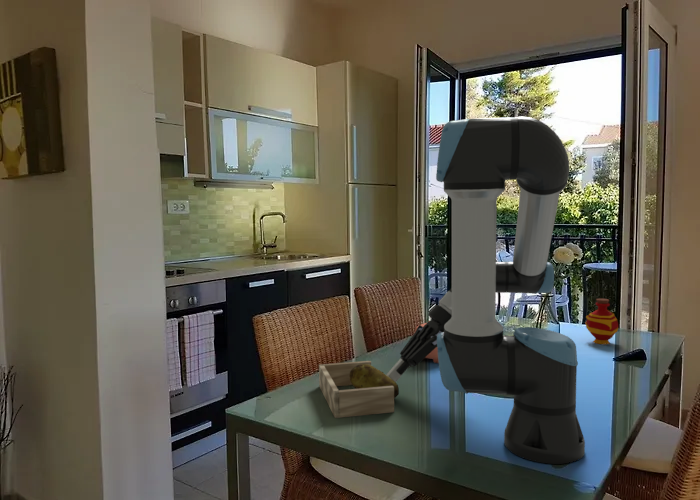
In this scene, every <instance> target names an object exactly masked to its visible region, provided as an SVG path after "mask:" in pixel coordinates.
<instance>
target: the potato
mask: <svg viewBox="0 0 700 500" xmlns="http://www.w3.org/2000/svg"><path fill="white" fill-rule="evenodd" d="M349 377H350V382H351V383H352V385H351V386H353V387H354V389H360V388H371V387H382V386H393V387H394V399H396V398H397V397H398V396H399V394H400V390H399V385H398V384H397V381H396V382H395V381H393V380H392V379H391V378H390V377H388V376H387V375H386V374H385V373H384V372H383V371H381V370H379V369H378V368H376V367H374V365H372V364H371V365H368V364H360V365H357V366H355V367H354V368H352V369H351V371H350V374H349Z"/></svg>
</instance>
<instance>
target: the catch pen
mask: <svg viewBox="0 0 700 500" xmlns="http://www.w3.org/2000/svg"><path fill="white" fill-rule="evenodd" d="M360 364H368V365H371V366H372V361H371V360H363V361H361V360H360V361H359V360H358V361H350V362H336V363H334V362H333V363H322V364H318V380H319V381H318V383H319V386H318V387H319V389H320V391H321V393H322V394H323V397H324V399H325V401H326V402H327V405H328V407H329V408H330V411H331V413H332V415H333V417H334V419H339V418H349V417H359V416H369V415H370V416H371V415H378V414H388V413H395V398H394V387H393V386H382V387H371V388H360V389H355V388H353V389H352V388H351V389H350V388H349V389H340V390H339V388H338V387H343V386H344V387H347V386H353V385H352V383H351V382H350V377H349V374H350V371H351V369H352V368H354V367H355V366H357V365H360Z"/></svg>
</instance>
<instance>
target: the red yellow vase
mask: <svg viewBox="0 0 700 500" xmlns="http://www.w3.org/2000/svg"><path fill="white" fill-rule="evenodd" d="M595 300H596V302H595V305H596V306H597V309H595V310H594V311H593V312H592V311H591V312H590V313H589V314H588V315H586V316H585V318H586V321H585V322H584V323H585V328H586V329H587V331H588V332H589V333H590V335H592V336H593V337H594V338H595V339H594V340H593V343H594V344H599V345H610V344H611V343H610V341H609V340H610V339H612V338H613V337H614V336H615V334H617V332H618V331H619V322H618V319H617V317H616V316H615V313H614V312H612V311H611V310H608V307H610V305H611V304H610V299H607V298H596V299H595Z"/></svg>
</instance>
